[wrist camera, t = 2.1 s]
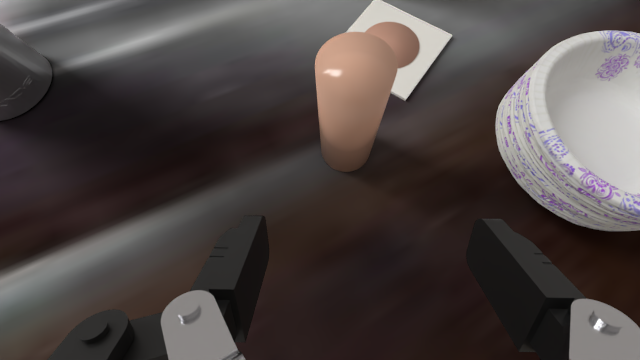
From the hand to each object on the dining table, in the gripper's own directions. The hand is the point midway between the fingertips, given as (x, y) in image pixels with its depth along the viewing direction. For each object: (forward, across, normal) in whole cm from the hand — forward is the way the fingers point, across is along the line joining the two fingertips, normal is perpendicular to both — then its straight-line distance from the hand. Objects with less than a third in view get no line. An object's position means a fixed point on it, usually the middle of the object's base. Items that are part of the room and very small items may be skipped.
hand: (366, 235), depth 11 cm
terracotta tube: (+17, 0, +3) cm, 18 cm away
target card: (+26, -5, -6) cm, 27 cm away
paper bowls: (+17, -20, +4) cm, 27 cm away
